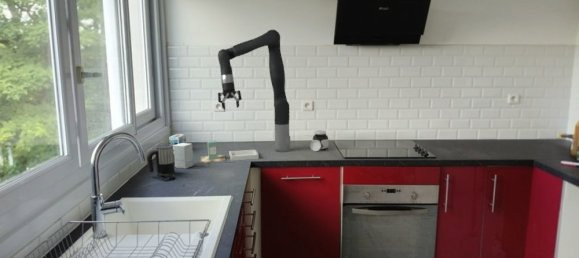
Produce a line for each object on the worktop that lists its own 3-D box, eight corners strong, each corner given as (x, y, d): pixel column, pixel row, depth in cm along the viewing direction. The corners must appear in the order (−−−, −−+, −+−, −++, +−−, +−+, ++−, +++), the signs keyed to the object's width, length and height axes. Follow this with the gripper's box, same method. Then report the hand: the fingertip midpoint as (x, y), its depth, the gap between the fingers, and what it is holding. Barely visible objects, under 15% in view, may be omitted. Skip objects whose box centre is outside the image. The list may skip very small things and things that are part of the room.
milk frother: (167, 170, 225) (165, 143, 223) (188, 174, 217) (186, 146, 214) (145, 177, 213) (143, 148, 211) (166, 181, 205) (164, 152, 203)
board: (224, 156, 255) (224, 154, 255) (225, 161, 242) (225, 160, 241) (200, 157, 252) (200, 156, 252) (200, 163, 239) (200, 161, 239)
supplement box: (194, 165, 235) (192, 143, 233) (185, 168, 228) (184, 146, 226) (183, 164, 238) (182, 142, 236) (174, 167, 231) (173, 145, 229)
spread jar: (327, 147, 274) (327, 130, 272) (329, 151, 263) (329, 133, 261) (309, 148, 274) (309, 130, 272) (310, 152, 262) (310, 133, 260)
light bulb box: (179, 154, 264) (178, 137, 262) (169, 153, 265) (168, 136, 263) (187, 150, 274) (186, 134, 272) (177, 150, 276) (176, 133, 274)
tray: (255, 154, 259) (255, 149, 258) (258, 159, 245) (258, 154, 245) (229, 156, 256) (229, 151, 255) (231, 161, 242) (230, 156, 242)
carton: (216, 156, 250) (216, 140, 248) (217, 158, 245) (216, 142, 243) (208, 157, 249) (207, 141, 247) (209, 159, 244) (208, 142, 242)
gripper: (217, 83, 254) (221, 109, 255) (240, 80, 258) (243, 107, 260) (215, 83, 261) (218, 109, 262) (237, 81, 265) (240, 106, 267)
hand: (231, 108), depth 261 cm, fingers open, 8 cm apart
